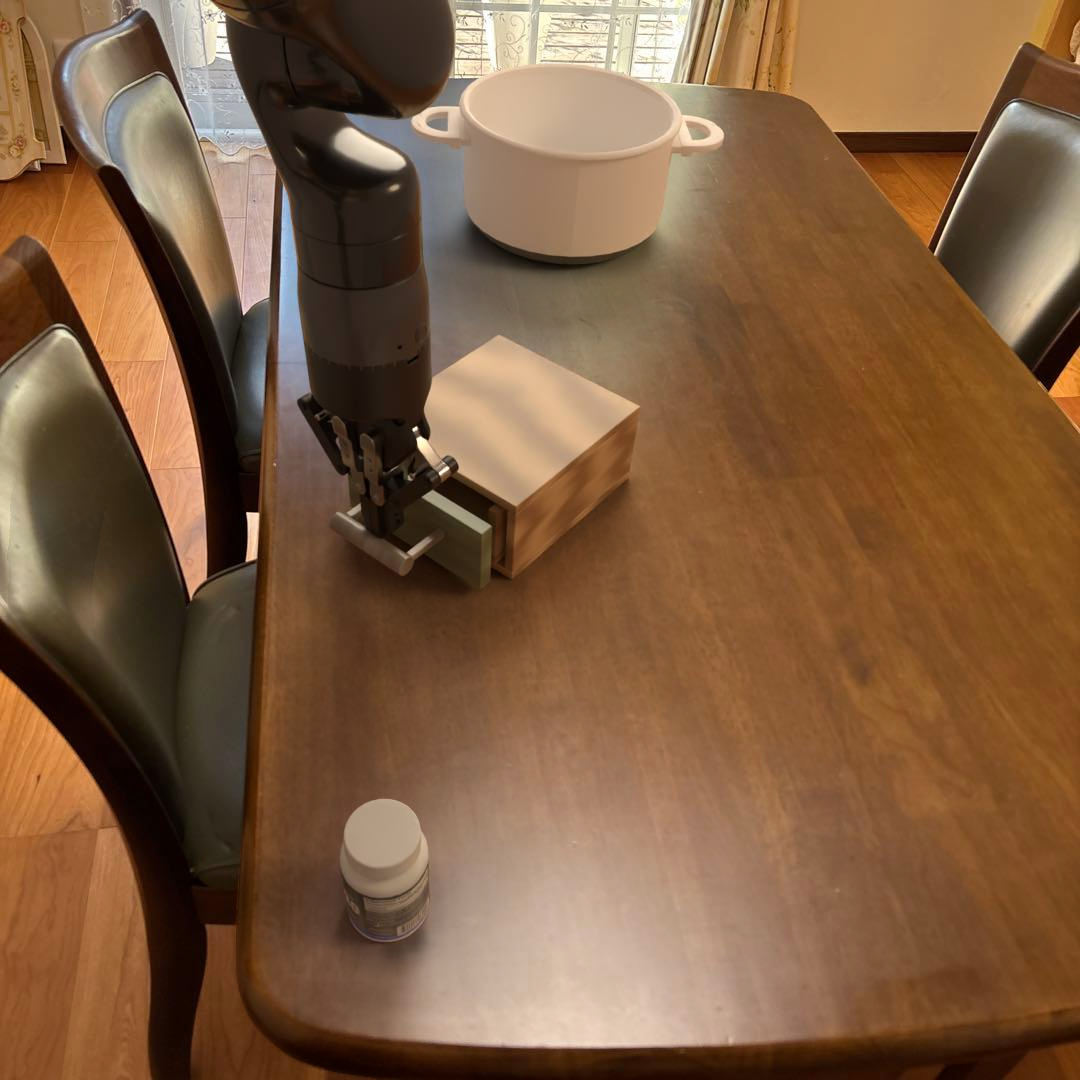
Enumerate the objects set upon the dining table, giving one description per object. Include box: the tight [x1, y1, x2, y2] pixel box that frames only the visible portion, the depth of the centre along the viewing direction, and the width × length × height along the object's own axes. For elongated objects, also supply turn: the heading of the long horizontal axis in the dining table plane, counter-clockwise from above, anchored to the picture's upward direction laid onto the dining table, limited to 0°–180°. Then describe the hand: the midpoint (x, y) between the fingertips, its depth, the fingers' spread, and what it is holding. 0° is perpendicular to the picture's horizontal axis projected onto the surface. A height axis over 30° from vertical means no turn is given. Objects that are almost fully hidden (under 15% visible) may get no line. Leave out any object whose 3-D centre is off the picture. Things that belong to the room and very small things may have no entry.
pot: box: [410, 63, 725, 265], centre depth 111 cm, size 33×23×14 cm
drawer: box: [328, 455, 508, 591], centre depth 78 cm, size 20×13×6 cm
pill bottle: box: [339, 798, 431, 943], centre depth 56 cm, size 5×5×8 cm
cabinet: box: [424, 334, 641, 581], centre depth 82 cm, size 16×15×8 cm
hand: (383, 528), depth 73 cm, fingers closed
